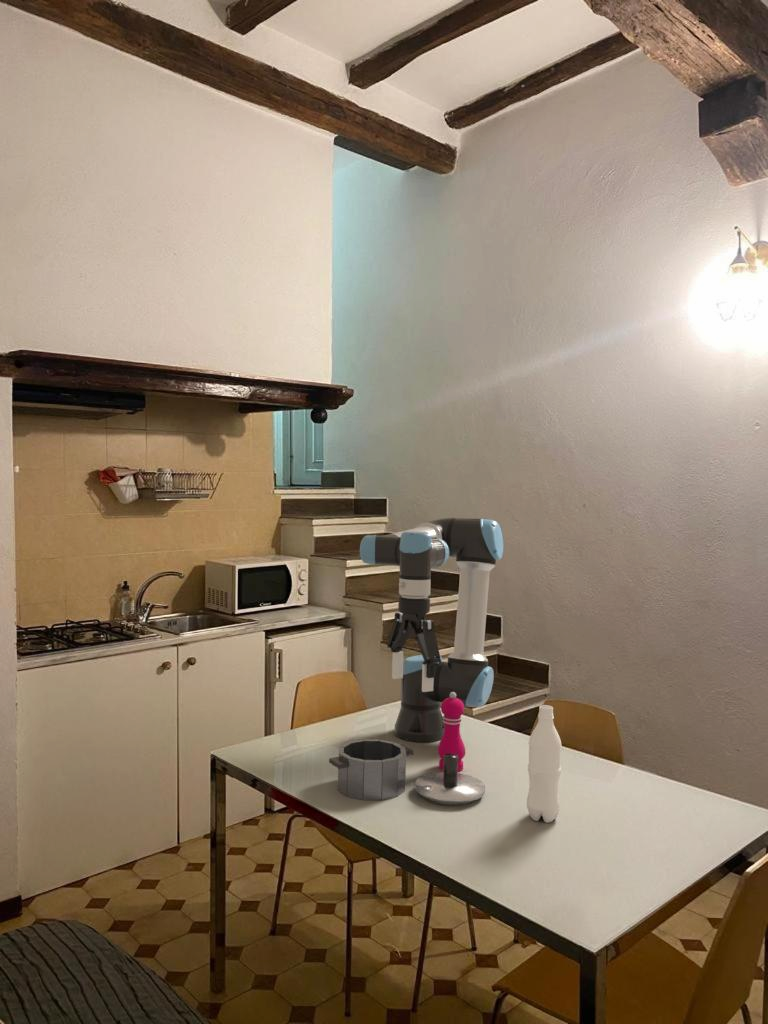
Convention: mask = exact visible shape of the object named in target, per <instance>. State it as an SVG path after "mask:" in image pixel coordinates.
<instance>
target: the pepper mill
mask: <svg viewBox="0 0 768 1024" xmlns="http://www.w3.org/2000/svg"><path fill="white" fill-rule="evenodd" d="M440 710H441V714H442V717H443V722H444V726H445V728H444V734H443V737H442V739H440V740H439V741H440V742H439V744H438V746H437V755H438V757H439V758H440V759H439V761H438V767H439V769H440V770H441V771H443V765H444V754H447V753H452V754H456V755H458V772H461V771H462V770H464V761H463V759H464V757H465V756H466V748H465V744H464V742H463V739H462V737H461V736H462V735H461V730H460V728H461V727H460V726H461V724H462V722H463V721H462V719H463V717H462V715H463V714H464V712H465V706H464V704H463V702H462V701H461V700H460V699H458V698H456V693H455V692H451V693H450V698H447V699H445V700H444V701H443V702H441V704H440Z"/></svg>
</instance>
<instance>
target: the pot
mask: <svg viewBox="0 0 768 1024" xmlns="http://www.w3.org/2000/svg"><path fill="white" fill-rule="evenodd" d="M414 751H415V750H413V748H412V749H411V748H410V747H408V746H406V745H404V744H399V743H397V742H395V741H388V740H384V739H358V740H352V741H348V742H346V743H343V744H342V745H340V746H339V747H338V756H335V757H329V758H328V762H329V764H331V765H332V766H334V767H335V768H337V769H338V770H337V771H338V772H337V773H338V774H337V775H338V776H337V791H338V792H340V793H341V794H343V795H344V796H346V797H348V798H352V799H357V800H361V801H383V800H384V801H385V800H388V799H393V798H396V797H399V796H400V795H402V794H403V793H404V792H406V777H407V775H406V774H407V771H406V769H407V768H406V767H407V766H406V765H407V756H413V755H414Z"/></svg>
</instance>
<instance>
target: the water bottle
mask: <svg viewBox="0 0 768 1024" xmlns="http://www.w3.org/2000/svg"><path fill="white" fill-rule="evenodd" d="M538 711H539V712H538V715H537V718H538V720H537V721H538V722H537V724H536V725H535V727H534V729H533V730H532V732H531V734H530V737H529V740H528V745H529V747H528V764H527V771H528V777H529V778H528V780H529V785H528V786H529V787H528V793H527V796H526V808H527V811H528V813H529V816H530V818H531V819H532V820H533V821H535V822H538V821H539V820H540V818H541V817H542V819H543V821H544V823H545V824H546V823H551V822H553V820H556V818H557V817H558V815H559V812H560V803H561V802H560V796H559V780H560V776H561V771H562V767H561V757H562V754H561V753H562V741H561V737H560V735H559V732H558V730H557V729H556V727H555V724H554V719H555V717H554V707H553V706H551V705H547V704H543V705H541V704H540V705H539V709H538Z"/></svg>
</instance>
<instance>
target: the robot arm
mask: <svg viewBox="0 0 768 1024" xmlns="http://www.w3.org/2000/svg"><path fill="white" fill-rule="evenodd" d="M503 554H504V538H503V532H502V529H501V526H500V525H499V523H498V522H497V521H496V520H493V519H487V518H486V519H485V518H463V517H461V518H458V517H445V518H438V519H434V520H430V521H426V522H422V523H420V524H418V525H416V526H415V527H414V528H411V529H406V530H403V531H397V532H394V533H390V534H383V535H376V534H374V535H372V534H371V535H369V534H367V535H365V536H363V538H362V539H361V541H360V546H359V556H360V559H361V562H363V563H364V564H367V565H373V566H376V565H377V566H394V567H395V566H396V567H399V575H398V576H399V577H398V578H399V579H398V580H399V581H398V582H399V583H398V594H399V597H398V606H397V607H398V608H397V609H398V612H395V613H394V620H393V623H392V627H391V631H390V634H389V636H388V637H389V638H388V640H387V642H386V643H387V644H386V647H387V648H390V651H391V653H392V655H391V658H392V659H391V662H392V663H391V680H397V679H401V682H400V683H401V684H400V685H401V686H400V687H401V688H400V689H401V690H400V693H401V695H400V710H399V712H398V715H397V718H396V722H395V724H394V730H393V731H394V736H395V737H397V738H398V739H402V740H405V741H408V742H409V741H411V742H416V743H417V742H418V743H419V742H420V743H424V742H425V743H426V742H427V743H429V742H435V741H441V739H442V737H443V734H444V728H445V726H444V722H443V713H442V711H441V703H442V702H443V701H444V700H445V699H447V698H450V693H451V692H455V693H456V698H458V699H460V700H461V701H462V702H463V704H464V707H467V708H468V707H475V708H481V707H483V706H484V705H485V704H486V703H487V702H488V700H489V698H490V696H491V693H492V689H493V685H494V680H495V679H494V678H495V677H494V674H495V673H494V669H493V667H491V666H488V665H489V660H488V658H487V657H486V655H485V653H484V651H485V650H484V649H485V639H486V638H485V636H486V635H485V634H486V623H487V613H488V612H487V610H488V598H489V588H490V587H489V585H490V574H491V573H490V572H491V570H493V569H494V568H495V567H496V564H497V563H496V561H499V560H501V559H502V558H503ZM449 557H450V558H451V557H452V558H456V559H455V564H456V565H457V566H458V567H459V569H460V571H459V572H460V573H459V583H458V594H457V595H458V596H457V607H456V618H455V619H456V621H455V633H454V644H453V651H452V652H451V653H450V654H449V655H448V656H447V661H443V658H442V656H441V654H440V650H439V645H438V641H437V637H436V632H435V621H434V620H433V619H429V620H428V619H426V615H427V614H429V613H430V611H431V609H430V607H431V599H430V597H429V596H430V595H431V585H432V584H431V577H432V575H431V574H432V573H431V572H432V571H431V570H432V569H437V568H439V567H441V566H443V565H444V564H446V562H447V561H448V560H449ZM410 636H411V637H413V639H414V640H416V642H417V645H418V647H419V648H418V649H419V650H420V653H421V654H419V655H411V656H409V657H407V658H404V648H403V647H404V646H405V644H406V642H407V640H408V639H409V637H410Z"/></svg>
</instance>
